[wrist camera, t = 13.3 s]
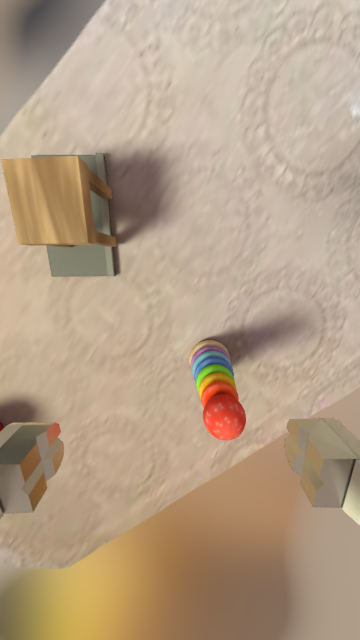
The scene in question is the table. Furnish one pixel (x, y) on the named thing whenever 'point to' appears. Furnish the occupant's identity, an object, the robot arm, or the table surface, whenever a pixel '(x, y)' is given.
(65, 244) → the stool
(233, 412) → the stacking toy
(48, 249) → the mat
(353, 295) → the table surface
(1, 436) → the robot arm
